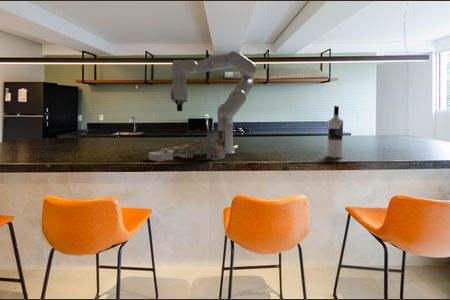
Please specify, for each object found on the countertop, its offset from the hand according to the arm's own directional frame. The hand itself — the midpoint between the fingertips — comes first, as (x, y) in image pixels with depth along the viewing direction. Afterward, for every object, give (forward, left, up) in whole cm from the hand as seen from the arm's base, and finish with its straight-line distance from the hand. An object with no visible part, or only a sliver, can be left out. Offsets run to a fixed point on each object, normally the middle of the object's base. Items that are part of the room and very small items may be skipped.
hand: (179, 111), depth 191 cm
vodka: (-59, +73, -27) cm, 98 cm away
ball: (+23, +10, -25) cm, 35 cm away
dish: (+20, +10, -27) cm, 35 cm away
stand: (+3, +8, -27) cm, 28 cm away
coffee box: (-4, +30, -27) cm, 41 cm away
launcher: (+4, +6, -23) cm, 24 cm away
